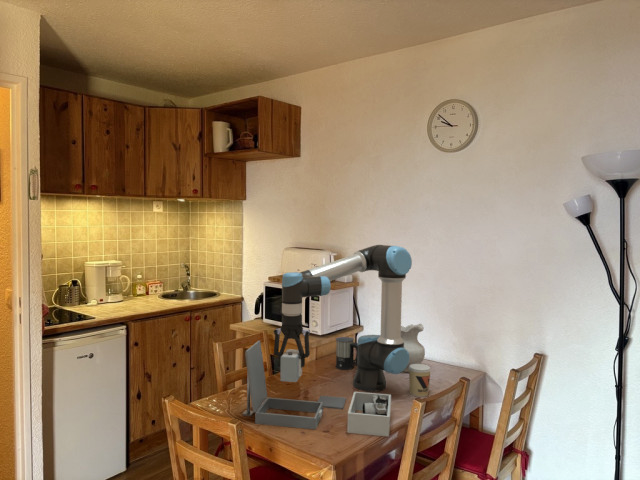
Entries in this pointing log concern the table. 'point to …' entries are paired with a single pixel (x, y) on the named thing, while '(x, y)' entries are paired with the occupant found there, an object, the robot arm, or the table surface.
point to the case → (289, 419)
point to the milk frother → (345, 353)
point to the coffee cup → (419, 379)
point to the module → (290, 365)
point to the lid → (256, 375)
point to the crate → (368, 416)
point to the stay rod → (248, 401)
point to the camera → (376, 406)
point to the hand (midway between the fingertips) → (291, 374)
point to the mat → (332, 402)
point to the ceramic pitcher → (413, 344)
